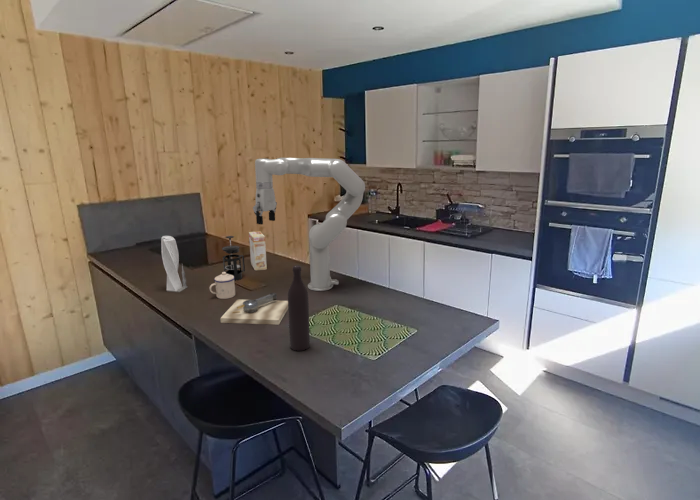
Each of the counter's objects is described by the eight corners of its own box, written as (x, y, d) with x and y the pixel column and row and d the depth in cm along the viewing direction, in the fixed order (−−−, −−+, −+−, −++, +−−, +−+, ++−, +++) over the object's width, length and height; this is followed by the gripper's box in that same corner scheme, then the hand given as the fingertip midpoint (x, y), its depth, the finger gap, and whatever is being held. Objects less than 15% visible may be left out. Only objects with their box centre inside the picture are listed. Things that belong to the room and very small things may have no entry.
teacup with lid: (230, 290, 201) (228, 268, 198) (239, 296, 194) (237, 272, 191) (206, 296, 194) (204, 273, 190) (214, 302, 187) (212, 278, 184)
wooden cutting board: (290, 305, 183) (289, 299, 183) (279, 324, 164) (278, 318, 164) (237, 303, 185) (237, 297, 185) (220, 322, 166) (220, 316, 165)
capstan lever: (242, 315, 166) (241, 308, 165) (233, 311, 169) (233, 305, 169) (280, 300, 181) (280, 294, 180) (271, 297, 184) (271, 291, 184)
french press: (226, 282, 212) (222, 239, 206) (220, 277, 220) (216, 236, 214) (248, 278, 219) (245, 236, 213) (241, 273, 226) (238, 233, 220)
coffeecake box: (267, 269, 233) (265, 236, 228) (254, 271, 231) (252, 237, 226) (262, 262, 247) (260, 230, 242) (250, 263, 244) (248, 231, 239)
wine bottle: (310, 341, 150) (307, 263, 142) (309, 351, 144) (306, 269, 136) (291, 341, 150) (287, 263, 142) (289, 351, 143) (285, 269, 135)
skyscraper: (177, 293, 198) (170, 236, 191) (162, 292, 200) (155, 236, 192) (187, 287, 206) (181, 232, 199) (173, 286, 208) (166, 232, 200)
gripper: (259, 188, 181) (261, 226, 185) (281, 184, 196) (283, 219, 200) (246, 187, 184) (248, 224, 188) (268, 183, 199) (270, 218, 203)
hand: (266, 222), depth 194 cm, fingers open, 9 cm apart
